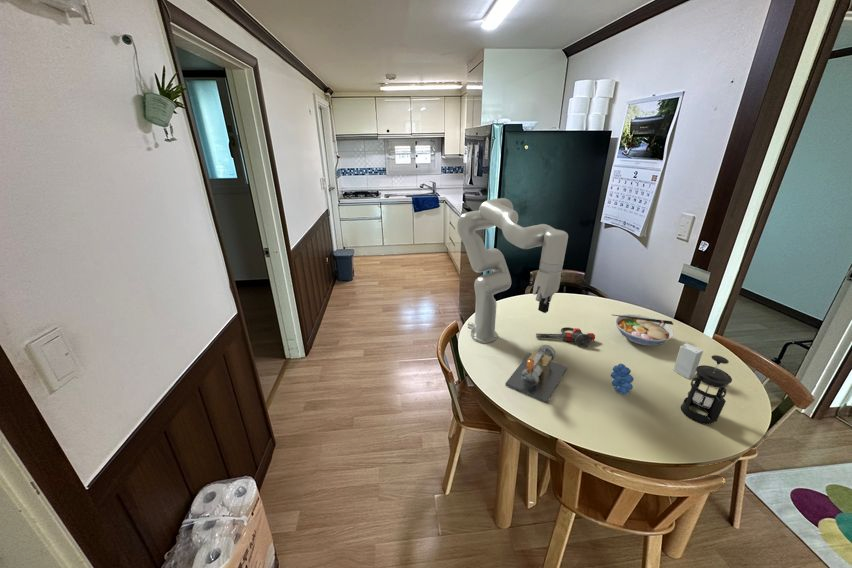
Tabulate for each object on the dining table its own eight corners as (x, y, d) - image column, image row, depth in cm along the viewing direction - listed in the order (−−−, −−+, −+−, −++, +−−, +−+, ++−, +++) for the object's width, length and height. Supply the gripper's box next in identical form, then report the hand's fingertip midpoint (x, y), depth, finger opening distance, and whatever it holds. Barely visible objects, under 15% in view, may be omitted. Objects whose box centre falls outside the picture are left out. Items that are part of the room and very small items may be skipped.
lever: (537, 352, 129) (539, 341, 127) (545, 354, 128) (546, 344, 126) (524, 372, 118) (525, 361, 116) (532, 375, 117) (533, 364, 115)
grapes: (638, 403, 118) (647, 376, 113) (619, 403, 118) (627, 376, 113) (622, 381, 128) (629, 355, 124) (604, 381, 129) (610, 355, 124)
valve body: (505, 385, 127) (507, 364, 123) (528, 354, 145) (531, 335, 141) (546, 403, 118) (550, 381, 114) (566, 368, 136) (570, 348, 132)
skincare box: (694, 376, 130) (704, 350, 125) (688, 379, 129) (698, 353, 124) (678, 367, 135) (687, 342, 131) (671, 370, 134) (680, 345, 129)
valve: (588, 334, 163) (598, 348, 148) (533, 333, 167) (537, 346, 152) (589, 322, 161) (599, 335, 147) (533, 321, 165) (538, 333, 151)
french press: (673, 401, 118) (693, 347, 109) (700, 402, 118) (723, 348, 108) (695, 428, 108) (719, 371, 98) (725, 429, 107) (753, 371, 98)
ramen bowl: (611, 347, 149) (615, 332, 145) (607, 323, 168) (610, 309, 165) (678, 360, 140) (684, 343, 137) (665, 332, 159) (670, 317, 156)
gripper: (553, 257, 122) (545, 301, 130) (528, 267, 114) (522, 313, 122) (572, 263, 117) (563, 308, 125) (548, 274, 109) (539, 322, 117)
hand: (542, 311), depth 124 cm, fingers closed
